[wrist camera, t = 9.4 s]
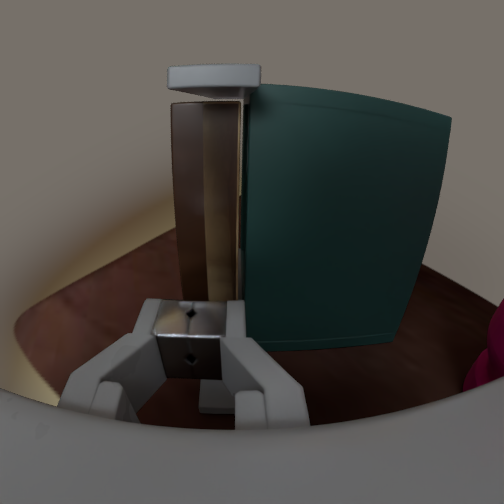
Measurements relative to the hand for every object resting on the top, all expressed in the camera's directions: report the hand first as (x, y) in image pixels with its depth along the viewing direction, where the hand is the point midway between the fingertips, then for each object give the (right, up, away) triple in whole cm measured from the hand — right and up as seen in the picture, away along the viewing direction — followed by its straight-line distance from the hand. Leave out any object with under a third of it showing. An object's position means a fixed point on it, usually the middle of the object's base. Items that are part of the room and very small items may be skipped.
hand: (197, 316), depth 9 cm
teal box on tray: (+4, -2, +10) cm, 11 cm away
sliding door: (0, -1, +9) cm, 9 cm away
